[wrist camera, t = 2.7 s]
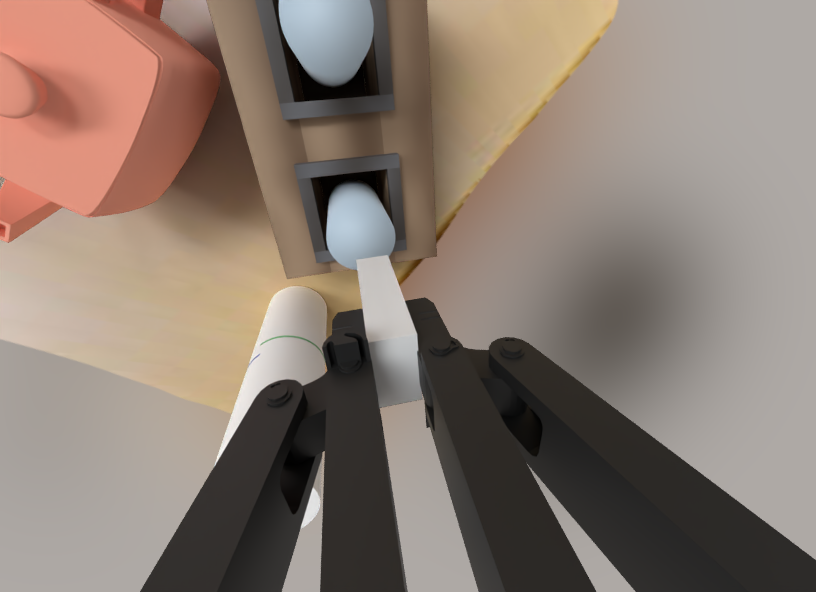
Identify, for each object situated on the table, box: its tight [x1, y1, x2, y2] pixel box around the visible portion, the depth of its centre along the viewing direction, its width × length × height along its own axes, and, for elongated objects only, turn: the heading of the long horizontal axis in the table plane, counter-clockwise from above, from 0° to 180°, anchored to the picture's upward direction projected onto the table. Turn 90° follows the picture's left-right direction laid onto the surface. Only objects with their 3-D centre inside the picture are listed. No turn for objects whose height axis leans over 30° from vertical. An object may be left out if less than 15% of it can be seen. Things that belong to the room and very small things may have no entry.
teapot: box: [0, 0, 221, 243], centre depth 24 cm, size 22×13×14 cm, turn 141°
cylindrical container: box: [214, 286, 327, 528], centre depth 32 cm, size 7×7×25 cm
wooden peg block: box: [206, 0, 437, 279], centre depth 29 cm, size 14×22×11 cm, turn 5°
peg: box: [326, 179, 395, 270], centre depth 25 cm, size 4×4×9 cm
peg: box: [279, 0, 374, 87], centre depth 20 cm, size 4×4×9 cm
